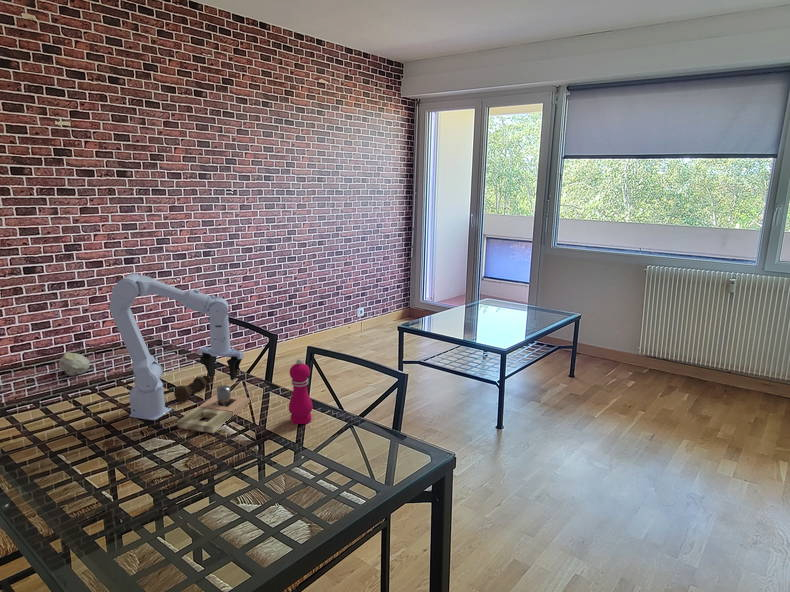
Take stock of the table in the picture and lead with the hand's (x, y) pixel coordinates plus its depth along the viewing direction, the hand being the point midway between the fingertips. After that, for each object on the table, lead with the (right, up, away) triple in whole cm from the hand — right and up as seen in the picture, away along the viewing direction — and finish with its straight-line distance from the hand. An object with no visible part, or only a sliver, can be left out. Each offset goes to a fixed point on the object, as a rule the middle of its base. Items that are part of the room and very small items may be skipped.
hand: (222, 377), depth 164 cm
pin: (0, -10, +2) cm, 10 cm away
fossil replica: (-64, -3, +29) cm, 70 cm away
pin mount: (-3, -12, -7) cm, 15 cm away
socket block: (0, -10, +2) cm, 10 cm away
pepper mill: (+26, -13, -5) cm, 29 cm away
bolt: (-14, -8, +14) cm, 21 cm away
